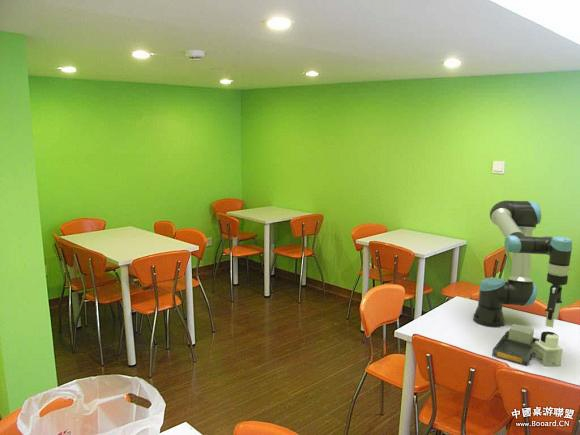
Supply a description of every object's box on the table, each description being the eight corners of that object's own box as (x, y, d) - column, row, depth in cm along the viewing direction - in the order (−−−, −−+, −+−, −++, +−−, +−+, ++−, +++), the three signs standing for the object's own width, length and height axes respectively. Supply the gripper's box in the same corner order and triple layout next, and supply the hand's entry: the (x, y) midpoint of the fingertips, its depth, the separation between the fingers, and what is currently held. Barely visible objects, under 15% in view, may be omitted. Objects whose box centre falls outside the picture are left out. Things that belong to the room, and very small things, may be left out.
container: (532, 357, 198) (536, 329, 196) (549, 357, 199) (552, 329, 197) (543, 366, 191) (547, 337, 189) (561, 365, 191) (564, 337, 189)
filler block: (508, 340, 211) (509, 328, 210) (511, 335, 217) (513, 323, 216) (529, 346, 205) (530, 334, 204) (532, 340, 211) (534, 328, 210)
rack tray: (491, 356, 199) (492, 349, 198) (506, 336, 220) (507, 330, 219) (526, 366, 190) (527, 359, 190) (538, 344, 211) (539, 339, 210)
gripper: (563, 282, 176) (557, 333, 180) (572, 269, 196) (566, 315, 199) (542, 278, 181) (536, 328, 184) (552, 266, 200) (547, 311, 204)
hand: (551, 321), depth 192 cm, fingers open, 13 cm apart
